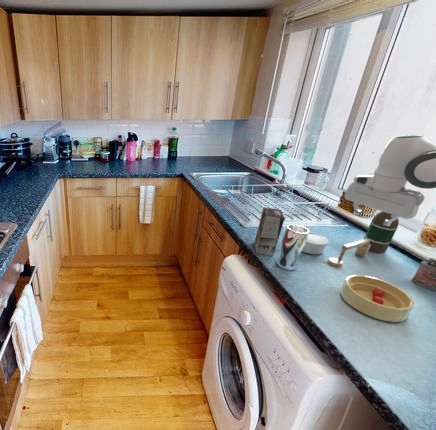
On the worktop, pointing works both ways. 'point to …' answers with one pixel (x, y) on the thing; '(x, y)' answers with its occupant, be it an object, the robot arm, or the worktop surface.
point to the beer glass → (292, 246)
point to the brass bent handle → (361, 248)
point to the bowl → (362, 296)
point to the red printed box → (426, 274)
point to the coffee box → (269, 231)
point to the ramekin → (315, 243)
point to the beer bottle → (381, 232)
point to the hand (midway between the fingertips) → (370, 219)
